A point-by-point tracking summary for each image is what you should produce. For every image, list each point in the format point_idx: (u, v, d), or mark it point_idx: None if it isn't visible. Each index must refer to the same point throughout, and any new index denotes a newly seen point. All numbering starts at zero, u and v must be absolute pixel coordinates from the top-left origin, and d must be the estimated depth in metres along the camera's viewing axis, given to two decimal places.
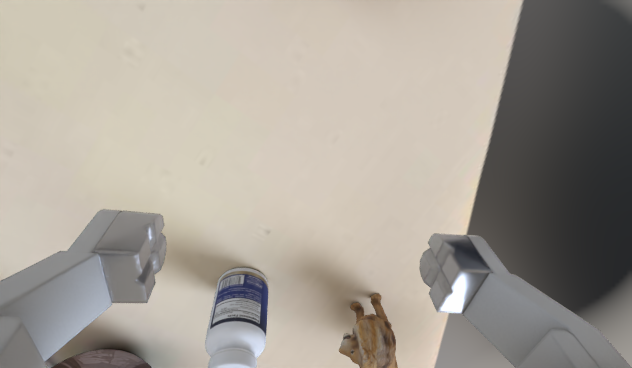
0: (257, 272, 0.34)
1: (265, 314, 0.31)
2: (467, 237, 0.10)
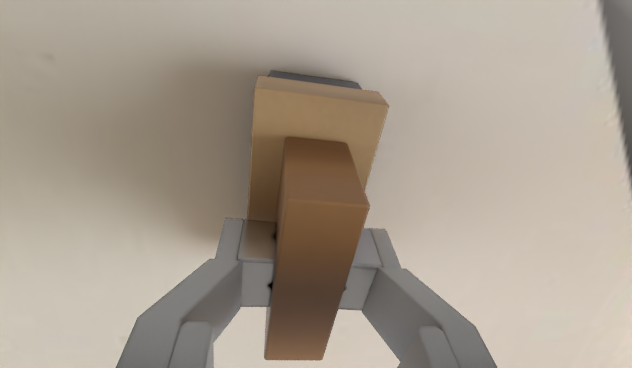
0: None
1: None
2: (368, 230, 0.09)
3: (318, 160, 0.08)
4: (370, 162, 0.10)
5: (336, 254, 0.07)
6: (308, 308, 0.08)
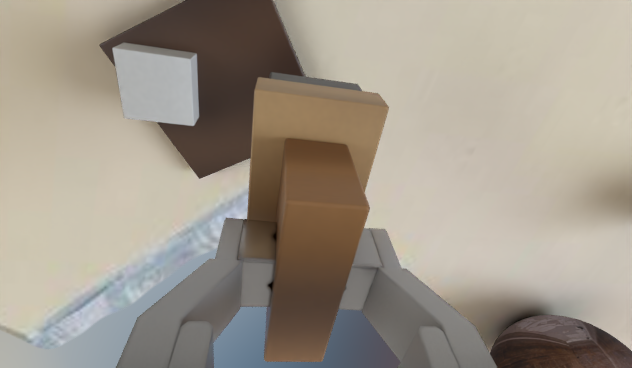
0: None
1: None
2: (368, 230, 0.09)
3: (318, 162, 0.08)
4: (370, 164, 0.10)
5: (336, 256, 0.07)
6: (308, 309, 0.08)
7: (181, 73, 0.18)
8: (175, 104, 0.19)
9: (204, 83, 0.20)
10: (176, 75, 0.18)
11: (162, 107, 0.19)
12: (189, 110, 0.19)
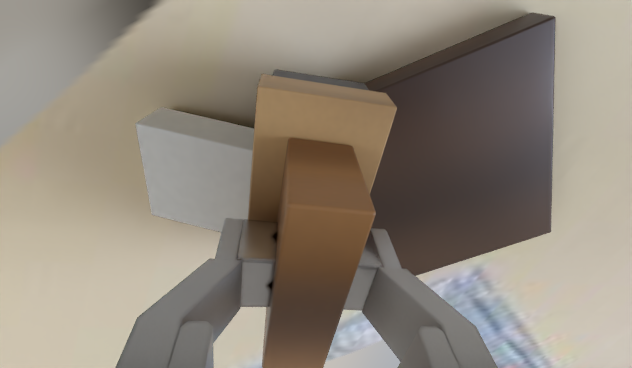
0: None
1: None
2: None
3: (322, 163, 0.08)
4: (376, 166, 0.09)
5: (339, 263, 0.07)
6: (309, 317, 0.08)
7: (237, 169, 0.11)
8: (224, 209, 0.12)
9: (406, 183, 0.13)
10: (229, 171, 0.11)
11: (205, 209, 0.12)
12: None
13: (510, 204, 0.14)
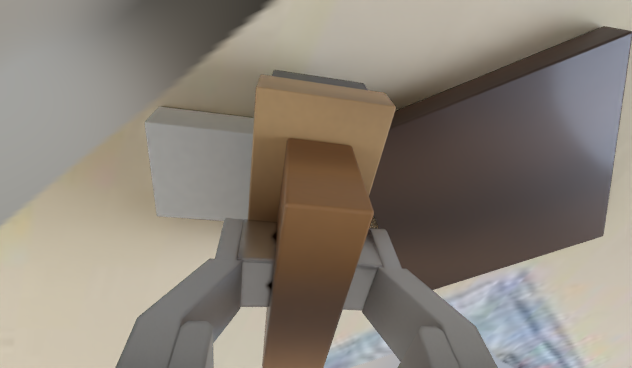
0: None
1: None
2: (368, 230, 0.09)
3: (321, 163, 0.08)
4: (375, 166, 0.09)
5: (338, 262, 0.07)
6: (308, 317, 0.08)
7: (250, 155, 0.12)
8: (235, 197, 0.12)
9: (471, 190, 0.14)
10: (242, 158, 0.12)
11: (215, 201, 0.13)
12: None
13: (567, 210, 0.15)
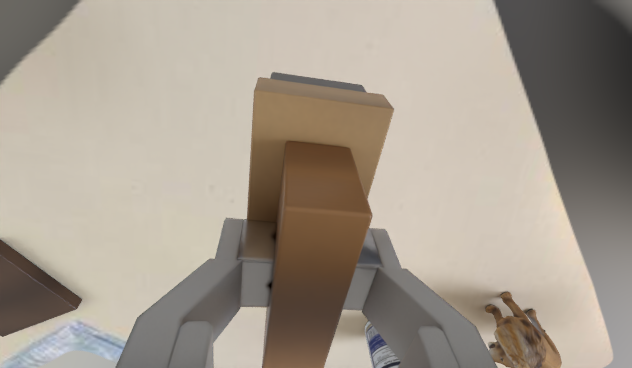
0: None
1: None
2: (368, 230, 0.09)
3: (319, 166, 0.08)
4: (374, 168, 0.09)
5: (337, 265, 0.07)
6: (307, 319, 0.08)
7: None
8: None
9: None
10: None
11: None
12: None
13: (41, 300, 0.32)
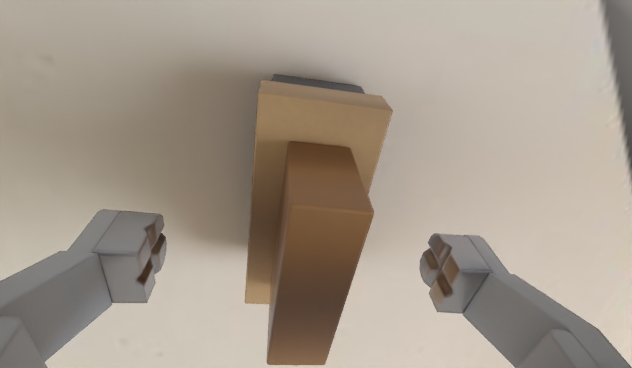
0: None
1: None
2: (466, 237, 0.10)
3: (322, 165, 0.08)
4: (373, 167, 0.10)
5: (340, 260, 0.07)
6: (311, 313, 0.08)
7: None
8: None
9: None
10: None
11: None
12: None
13: None
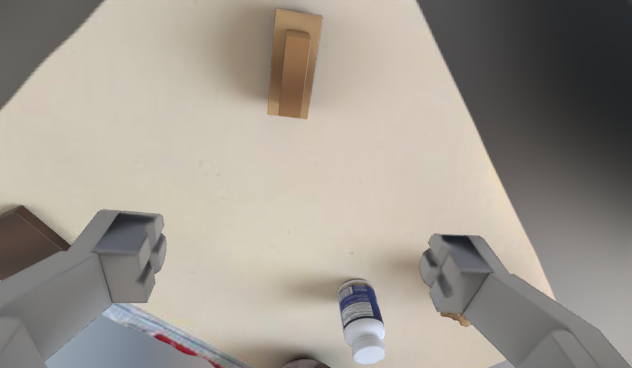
0: (359, 280, 0.46)
1: (376, 308, 0.43)
2: (466, 237, 0.10)
3: (297, 32, 0.24)
4: (318, 41, 0.26)
5: (302, 59, 0.24)
6: (294, 85, 0.25)
7: None
8: None
9: (7, 255, 0.37)
10: None
11: None
12: None
13: None
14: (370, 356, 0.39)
